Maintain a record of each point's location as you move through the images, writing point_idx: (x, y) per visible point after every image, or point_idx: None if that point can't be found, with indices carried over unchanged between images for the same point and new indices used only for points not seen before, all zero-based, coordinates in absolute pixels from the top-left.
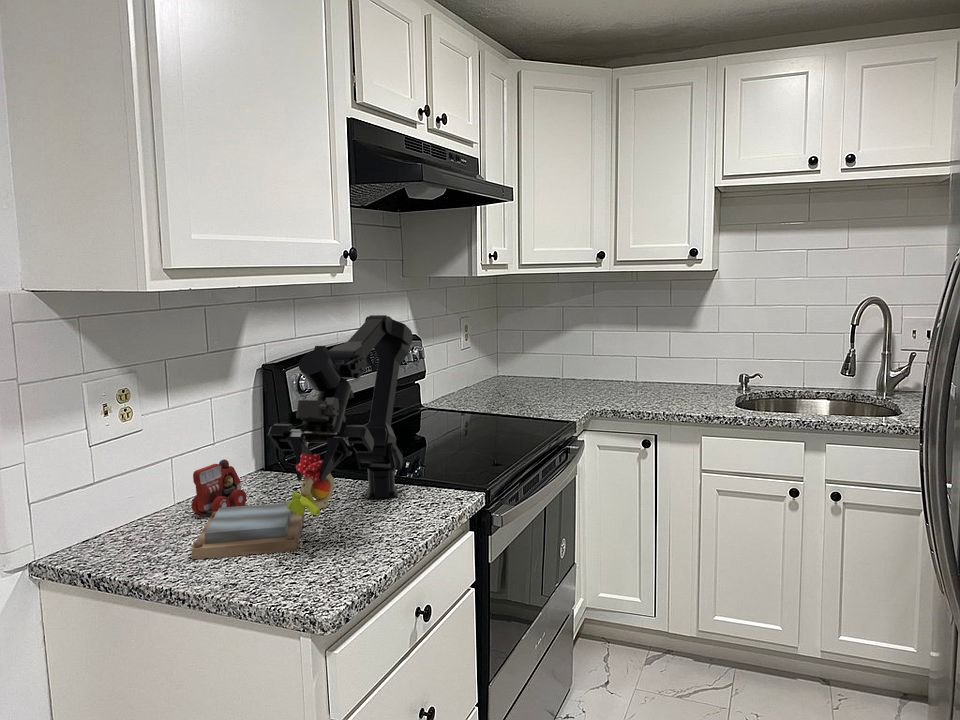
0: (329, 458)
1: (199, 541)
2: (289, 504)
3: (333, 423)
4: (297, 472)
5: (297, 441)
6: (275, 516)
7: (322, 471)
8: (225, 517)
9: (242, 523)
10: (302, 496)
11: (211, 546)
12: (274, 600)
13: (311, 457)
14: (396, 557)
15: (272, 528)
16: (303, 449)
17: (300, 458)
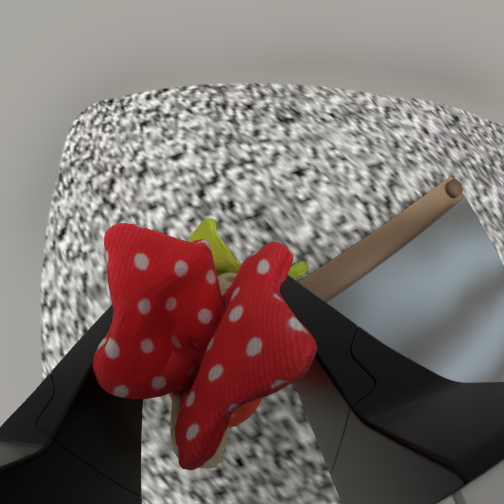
0: (42, 383)
1: (457, 191)
2: (297, 264)
3: None
4: (288, 280)
5: (461, 425)
6: None
7: (106, 320)
8: (497, 298)
9: (445, 279)
10: (214, 239)
11: (432, 197)
12: (172, 100)
13: (209, 386)
14: (45, 329)
15: (355, 283)
16: (359, 451)
17: (316, 344)
